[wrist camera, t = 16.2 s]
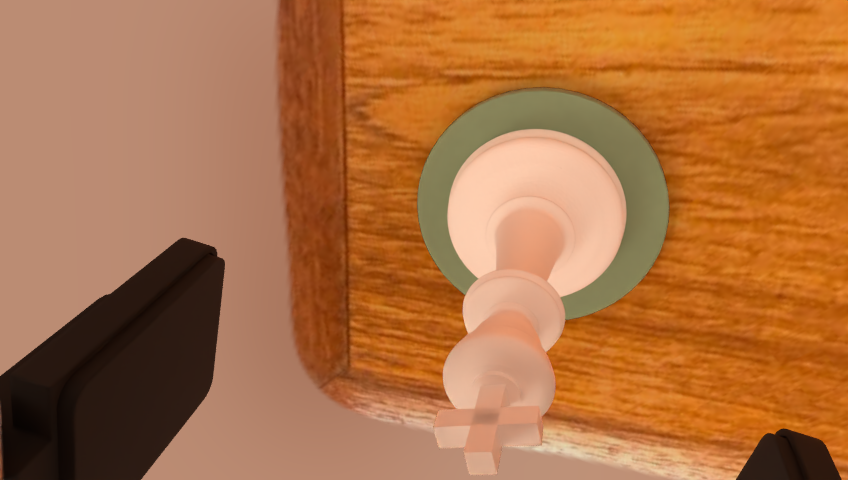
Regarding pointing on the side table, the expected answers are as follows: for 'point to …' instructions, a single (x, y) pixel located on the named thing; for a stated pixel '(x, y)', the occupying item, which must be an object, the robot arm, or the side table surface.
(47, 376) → the robot arm
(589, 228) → the chess piece
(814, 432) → the side table surface
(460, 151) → the coaster
